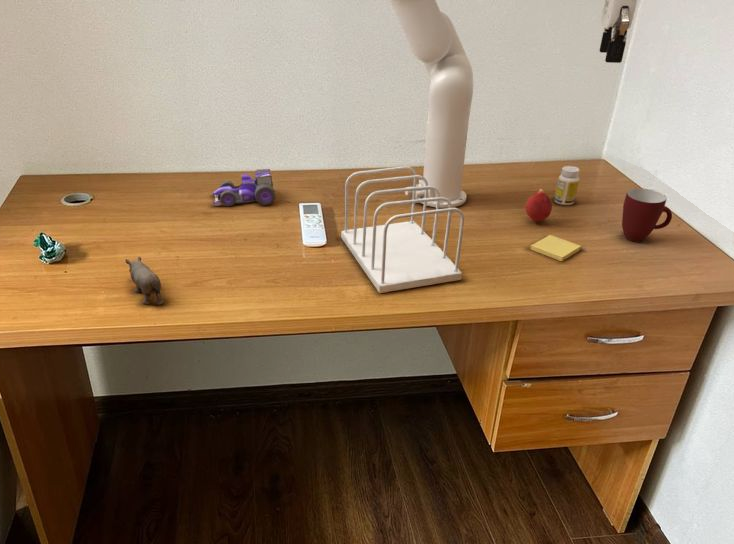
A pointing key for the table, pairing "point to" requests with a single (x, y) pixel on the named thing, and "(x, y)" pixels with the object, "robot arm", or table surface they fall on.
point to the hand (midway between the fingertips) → (609, 57)
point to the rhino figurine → (145, 280)
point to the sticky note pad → (555, 247)
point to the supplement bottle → (567, 185)
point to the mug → (643, 213)
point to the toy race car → (247, 190)
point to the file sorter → (401, 241)
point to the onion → (539, 206)
